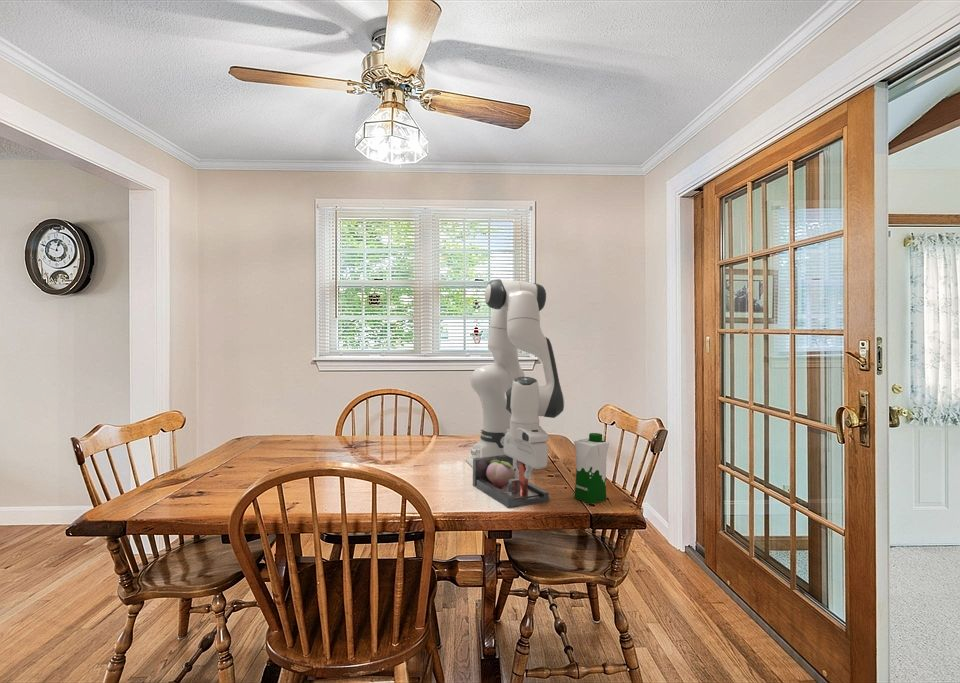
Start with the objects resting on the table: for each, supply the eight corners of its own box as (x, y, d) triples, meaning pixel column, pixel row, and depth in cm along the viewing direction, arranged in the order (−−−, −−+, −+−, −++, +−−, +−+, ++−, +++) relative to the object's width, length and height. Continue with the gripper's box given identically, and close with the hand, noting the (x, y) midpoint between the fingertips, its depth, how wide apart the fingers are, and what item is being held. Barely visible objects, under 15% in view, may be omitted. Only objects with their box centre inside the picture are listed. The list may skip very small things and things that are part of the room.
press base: (472, 485, 173) (473, 458, 173) (509, 480, 179) (510, 454, 179) (508, 507, 152) (508, 477, 151) (548, 501, 158) (549, 472, 158)
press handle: (501, 498, 160) (502, 460, 159) (528, 494, 164) (529, 457, 164) (511, 504, 154) (512, 465, 154) (539, 500, 158) (540, 462, 158)
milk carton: (610, 500, 160) (612, 435, 159) (591, 506, 154) (592, 439, 154) (588, 493, 167) (589, 431, 166) (569, 498, 161) (570, 434, 161)
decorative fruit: (519, 487, 171) (519, 457, 171) (507, 494, 164) (507, 462, 164) (494, 482, 176) (495, 453, 176) (481, 488, 169) (482, 458, 169)
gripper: (499, 425, 165) (498, 469, 165) (533, 438, 147) (532, 486, 147) (516, 424, 168) (515, 466, 168) (552, 436, 149) (551, 484, 150)
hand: (523, 476), depth 157 cm, fingers closed on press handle, 3 cm apart
